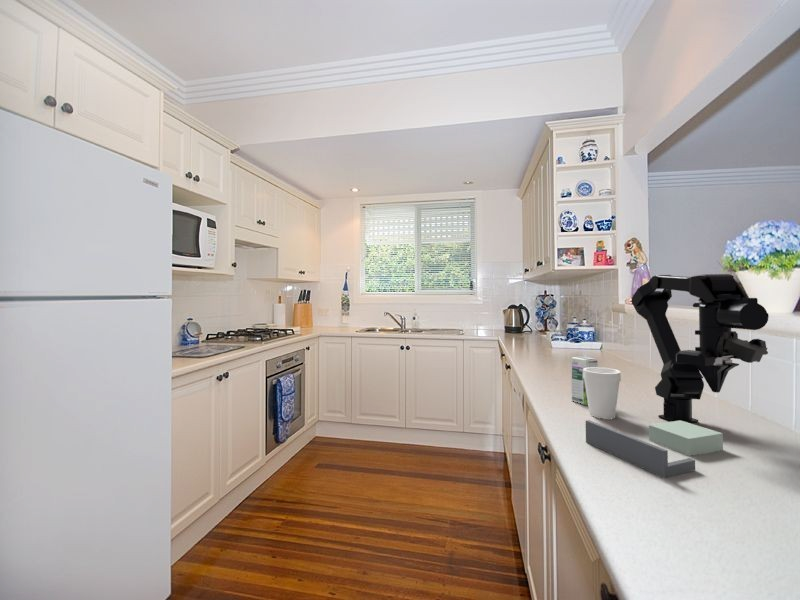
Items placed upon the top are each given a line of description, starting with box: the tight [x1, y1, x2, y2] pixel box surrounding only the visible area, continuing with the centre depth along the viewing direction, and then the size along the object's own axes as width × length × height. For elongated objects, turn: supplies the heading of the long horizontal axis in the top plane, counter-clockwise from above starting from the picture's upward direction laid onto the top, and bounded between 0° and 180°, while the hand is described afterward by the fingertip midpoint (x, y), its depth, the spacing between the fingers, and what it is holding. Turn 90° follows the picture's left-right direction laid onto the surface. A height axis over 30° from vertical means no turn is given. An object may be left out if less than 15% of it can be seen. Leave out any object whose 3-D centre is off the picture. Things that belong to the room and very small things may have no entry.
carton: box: [648, 420, 724, 457], centre depth 81 cm, size 10×9×4 cm
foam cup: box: [583, 367, 622, 420], centre depth 102 cm, size 10×9×13 cm
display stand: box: [585, 419, 696, 479], centre depth 76 cm, size 8×18×5 cm, turn 18°
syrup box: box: [570, 356, 599, 406], centre depth 115 cm, size 6×6×14 cm
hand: (716, 392), depth 84 cm, fingers closed
